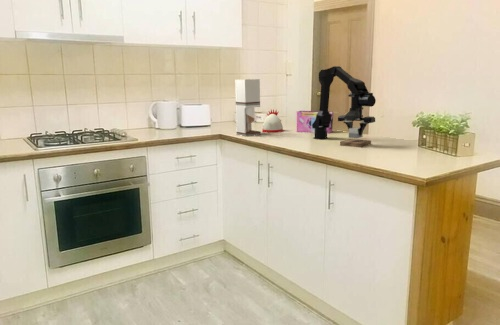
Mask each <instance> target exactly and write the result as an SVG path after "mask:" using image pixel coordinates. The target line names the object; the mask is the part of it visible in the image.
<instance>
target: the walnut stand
mask: <svg viewBox="0 0 500 325" xmlns="http://www.w3.org/2000/svg"><path fill="white" fill-rule="evenodd" d="M371 144H372V140H370V139H360V138H348V139H345V140H341V141H339V146H341V147H342V146H343V147H344V146H345V147H354V148H364V147H366V146H369V145H371Z"/></svg>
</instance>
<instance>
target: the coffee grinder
mask: <svg viewBox="0 0 500 325" xmlns="http://www.w3.org/2000/svg"><path fill="white" fill-rule="evenodd" d="M260 80H261V79H260V78H257V79H256V78H255V79H254V78H252V79H250V78H247V79H244V78H243V79H242V78H241V79H234V87H235V88H234V90H235V120H236V125H235V126H236V127H235V129H236V136H240V135H242V136H241V137H246V136H247V137H253V136H254V135H255V136H260V135H261V134H262V133H261V131H259V130H253V129H252V127H253V126H252V123H254V122H255V117H256V116H255V114H256V113H255V108H260V107H261V81H260Z"/></svg>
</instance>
